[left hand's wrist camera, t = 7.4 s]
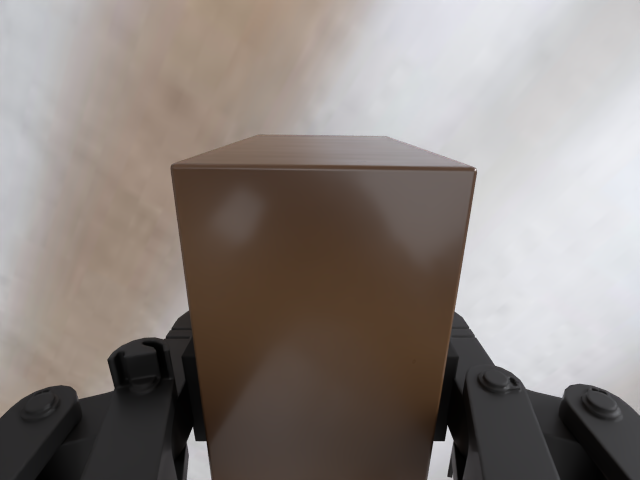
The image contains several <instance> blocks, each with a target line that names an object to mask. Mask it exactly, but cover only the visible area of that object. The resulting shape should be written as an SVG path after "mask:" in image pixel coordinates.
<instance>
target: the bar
mask: <svg viewBox="0 0 640 480" xmlns="http://www.w3.org/2000/svg"><path fill="white" fill-rule="evenodd" d="M476 175H477V170H476V168H475V167H472V166H470V165H467V164H464V163H461V162H458V161H455V160H453V159H450V158H447V157H444V156H441V155H438V154H435V153H433V152H430V151H427V150H424V149H421V148H418V147H416V146H413V145H410V144H407V143H404V142H401V141H399V140H396V139H393V138H390V137H387V136H328V135H256V136H253V137H250V138H247V139H244V140H241V141H238V142H235V143H232V144H230V145H227V146H224V147H221V148H218V149H215V150H212V151H209V152H206V153H203V154H200V155H197V156H194V157H191V158H188V159H185V160H182V161H179V162H177V163H174V164H172V165H171V176H172V183H173V191H174V198H175V206H176V213H177V221H178V229H179V236H180V244H181V251H182V259H183V266H184V274H185V282H186V289H187V297H188V304H189V312H190V320H191V327H192V335H193V342H194V350H195V357H196V365H197V373H198V380H199V388H200V395H201V403H202V410H203V418H204V426H205V433H206V441H207V448H208V456H209V464H210V471H211V479H212V480H427V477H428V471H429V465H430V459H431V452H432V446H433V440H434V434H435V428H436V422H437V415H438V409H439V403H440V397H441V391H442V385H443V378H444V372H445V366H446V360H447V354H448V348H449V341H450V335H451V329H452V323H453V317H454V311H455V305H456V298H457V292H458V286H459V280H460V274H461V268H462V261H463V255H464V249H465V243H466V237H467V231H468V224H469V218H470V212H471V206H472V200H473V194H474V187H475V181H476Z"/></svg>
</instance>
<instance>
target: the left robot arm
mask: <svg viewBox="0 0 640 480" xmlns="http://www.w3.org/2000/svg"><path fill="white" fill-rule="evenodd" d="M107 360H108V364H109V368H110V372H111V376H112V379H113V383H114V387H115V389H114V391H111V392H108V393H105V394H100V395H96V396H91V397H87V398H83V399H78V396H77V393H76V391H75V390H74V389H73V388H72V387H69V386H63V385H60V386H52V387H48V388H45V389H42V390H39V391H36V392H34V393H32V394H30V395H28V396H26V397H25V398H23V399H21V400H20V401H19V402H17V403H16V404H15V405H14V406H12V407H11V408H10V409H9V410H8V411H7V412H6V413H5V414H4V415H3V416H2V417H1V418H0V480H187V469H188V459H189V454H188V447H187V440H188V437H189V435H190V432H191V430H192V427H193V429H194V435H195V441H206V433H205V426H204V418H203V410H202V403H201V395H200V388H199V380H198V373H197V365H196V357H195V350H194V342H193V335H192V327H191V320H190V312H189V311H188V312H186V313H185V314H184V315H182V316H181V317H179V318H178V319H177V321H176V322H175V324H174V325H173V327H172V328H171V330H170V331H169V333H168V334H167V336H166V339H164V340H163V339H159V338H142V339H138V340H134V341H131V342H129V343H127V344H125V345H122V346H121V347H119V348H118V349H117V350H115V351H114V352H113V353H112V354H111V355H110V357H109V358H108V359H107ZM447 425H448V427H449V430H450V432H451V435H452V437H453V440H454V442H453V447H452V453H451V458H450V464H449V469H448V476H447V477H451V478H452V475H453V479H454V480H640V415H638V414H637V413H636V412H635V411H634V410H633V409H632V408H631V407H630V406H629V405H628V404H627V403H625V402H624V401H623V400H622V399H620V398H619V397H617V396H615V395H613V394H612V393H610V392H608V391H606V390H603V389H601V388H598V387H595V386H591V385H584V384H576V385H570V386H569V387H568V388H566V389H565V391H564V394H563V398H559V397H555V396H551V395H546V394H542V393H538V392H534V391H531V390H527V389H526V388H525V387H524V385H523V384H522V382H521V381H520V379H518V378H517V377H516V376H515V375H514V374H512V373H511V372H509V371H507V370H505V369H503V368H501V367H497V366H495V365H494V363H493V362H492V360H491V359H490V357H489V356H488V354H487V353H486V352H485V350H484V349H483V347H482V346H481V344H480V343H479V341H478V340H477V338H475V335H474V334H473V332H472V331H471V329H469V326H468V325H467V323H466V322H465V321H464V319H463V318H462V317H461V316H460V315H458V314H457V313H456V312H454V317H453V323H452V329H451V335H450V341H449V348H448V354H447V360H446V366H445V372H444V378H443V385H442V391H441V397H440V403H439V409H438V415H437V422H436V428H435V434H434V440H433V441H445V436H446V431H447Z"/></svg>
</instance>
